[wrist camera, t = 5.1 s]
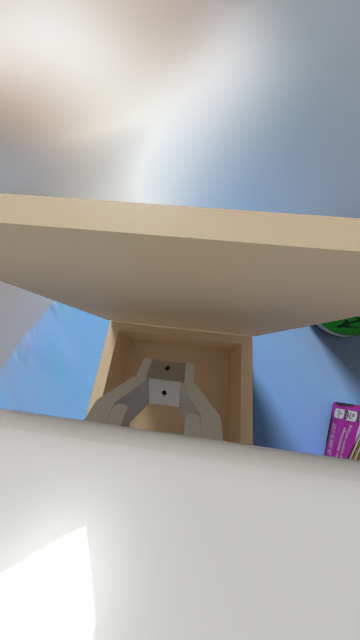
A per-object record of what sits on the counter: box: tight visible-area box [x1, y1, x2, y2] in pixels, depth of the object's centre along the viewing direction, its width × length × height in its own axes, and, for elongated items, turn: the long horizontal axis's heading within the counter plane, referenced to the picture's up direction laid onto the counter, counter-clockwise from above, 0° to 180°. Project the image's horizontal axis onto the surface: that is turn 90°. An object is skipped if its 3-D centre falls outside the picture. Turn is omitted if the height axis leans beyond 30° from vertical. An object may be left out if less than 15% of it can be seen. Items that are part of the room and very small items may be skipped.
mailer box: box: [86, 320, 253, 445], centre depth 18 cm, size 14×14×5 cm
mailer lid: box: [0, 194, 360, 336], centre depth 10 cm, size 14×15×1 cm
